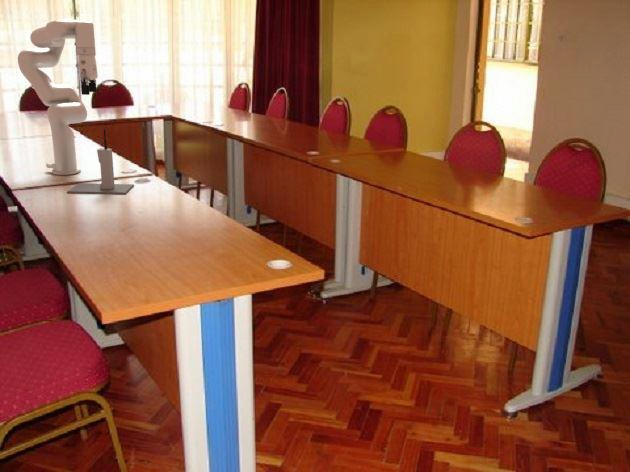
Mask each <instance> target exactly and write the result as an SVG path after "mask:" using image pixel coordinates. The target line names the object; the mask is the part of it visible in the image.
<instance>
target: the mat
mask: <svg viewBox="0 0 630 472" xmlns="http://www.w3.org/2000/svg"><path fill="white" fill-rule="evenodd" d="M100 185H101V183H95V182H94V183H91V182H89V183H85V182H84V183H83V182H78V183H76V184H74V185H73V186H72V187H71V188H70V189H68V190H67V191H66V194H86V195H87V194H89V195H90V194H91V195H92V194H93V195H127V193H128V192H130V191H131V189H133V188H134V186H135V184H134V183H133V184H131V183H127V184H125V183H121V184H120V183H114V186H115V187H114V188H113V189H100Z"/></svg>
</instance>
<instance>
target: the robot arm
mask: <svg viewBox="0 0 630 472" xmlns="http://www.w3.org/2000/svg"><path fill="white" fill-rule="evenodd" d="M29 38H30V42H31V43H32V45H34V46H35V47H37V48H26V49H24V50H21V51H19V53H18V55H17V65H18V68H19V70H20V73H21V74H22V75H23V77H24V78H25V79H26V80H27V81H28V83H29V84H30V85H31V86H32V88H33V89H34V91H35V93H36V95H37V96H38V99H40V101H41V102H42V103H43V104H44V106H46V107H48V108H47V112H46V113H47V114H46V115H47V120H48V123H49V125H50V130H51V131H50V132H51V139H52V140H51V141H52V149H53V159H54V160H53V161H54V162H53V163H51V162H46V164H45V166H46V168H48V169H51V173H52V174H53V175H57V176H58V175H59V176H70V175H75V174H76V175H77V174H79V173H81V172H82V171H81V168H80V167H77V154H76V144H75V143H76V142H75V141H76V140H75V135H74V131H73V130H72V128H71V127H70V126H69V125H71V124H80V123H84V122H85V121H86V120H87V118H88V110H87V108H86V106H85V104H84V102H83V101H82V99H81V97H80V95H78V93H77V91H76V90H75V88H73V86H71V85H70V84H65V83H61V84H60V83H59V84H56V83H54V82H53V81H52V79H51V78H50V76H49V75H48V74H47V73H46V72H45V71H43V70H41V69H42V68H44V69H46V68H54V67H56V66H57V65H58V64H59V61H60V59H61V57H62V53H63V51H64V48H65V43H66V39H68V40H69V39H75V46H76V56H78V70H79V71H78V73H79V74H78V75H79V81H80V90H81V95H86V96H87V95H88V96H89V95H90V93H96V92H98V91H97V79H98V77H99V75H98V68H97V61H96V56H97V54H96V53H97V52H96V41H95V27H94V23H93V22H92V21H89V20H81V19H57V20H52V21H50V22H48V23H46V25H45V26H41V27H39V28H36V29H34V30H33V31H32V32H31V33H30V36H29Z"/></svg>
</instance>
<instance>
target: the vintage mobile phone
mask: <svg viewBox="0 0 630 472" xmlns="http://www.w3.org/2000/svg"><path fill="white" fill-rule="evenodd" d="M103 139H104V140H103V145H104V147H100V148H98V149H96V152H97V159H98V162H99V165H100V177H101V179H100V180H101V183H100V184H101V185H100V189H113V188H114V187H115V186H114V184H115V175H114V159H113V149H112V148H108V147H107V146H108V145H107V138H106V128H105V129H103Z"/></svg>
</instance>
